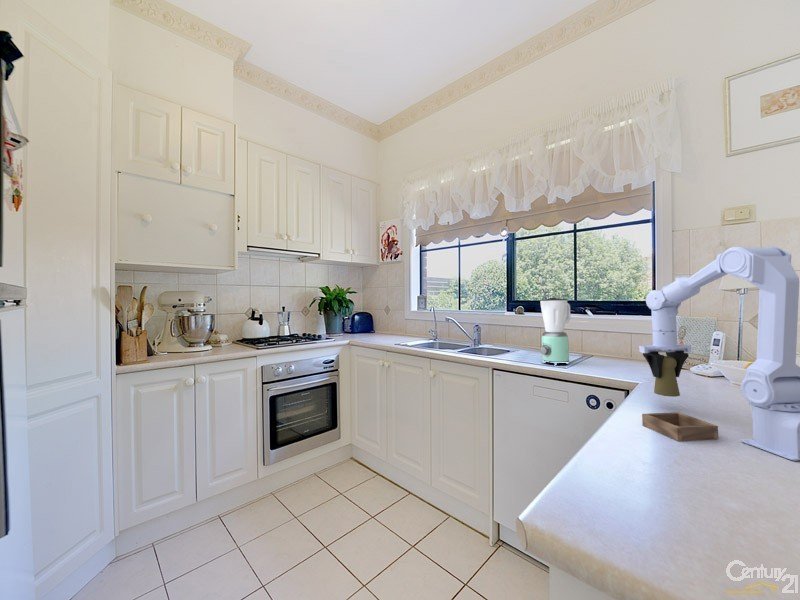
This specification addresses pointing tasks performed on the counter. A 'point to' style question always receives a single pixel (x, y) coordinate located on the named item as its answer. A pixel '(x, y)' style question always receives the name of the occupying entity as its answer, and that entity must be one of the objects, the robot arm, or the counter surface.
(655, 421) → the wooden tray
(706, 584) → the counter surface
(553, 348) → the mint green blender
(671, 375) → the cork
